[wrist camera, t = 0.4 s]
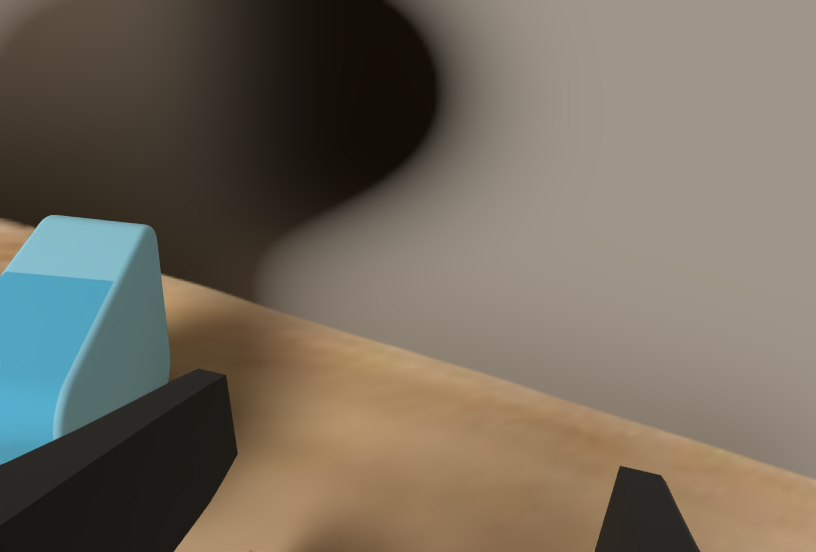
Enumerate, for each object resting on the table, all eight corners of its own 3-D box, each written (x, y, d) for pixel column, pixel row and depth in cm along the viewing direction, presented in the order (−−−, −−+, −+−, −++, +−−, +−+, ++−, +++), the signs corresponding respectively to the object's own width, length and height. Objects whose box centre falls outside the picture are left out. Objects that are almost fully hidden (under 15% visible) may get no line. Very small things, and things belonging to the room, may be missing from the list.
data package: (95, 365, 33) (53, 200, 26) (173, 369, 34) (155, 211, 26) (-1, 574, 24) (-109, 414, 16) (109, 573, 25) (54, 421, 17)
